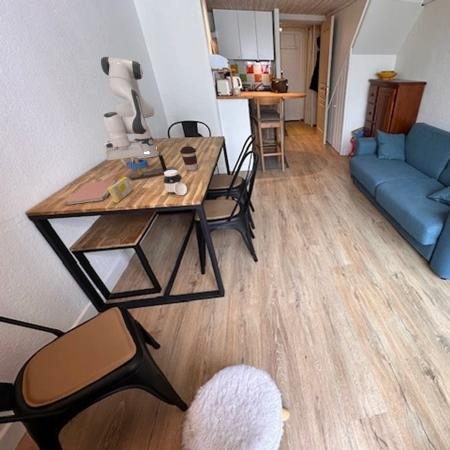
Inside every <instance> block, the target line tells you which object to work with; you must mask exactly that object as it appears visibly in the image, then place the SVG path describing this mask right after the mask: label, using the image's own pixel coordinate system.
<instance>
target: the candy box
mask: <svg viewBox="0 0 450 450" xmlns="http://www.w3.org/2000/svg"><path fill="white" fill-rule="evenodd" d="M108 190H109V192H110V193H109V194H110V196H111V199H112V201H113V202H114V204H119V203H120V202H121V201H122V200H123V199H124V198H125V197H127V196H128V195H129V194H131V193H132V192H133V191H134V189H133V187H132V184H131V182H130V180H129V178H128V176H124V177H122V178H120V179H119V180H118V181H117V183H115V184H114V185H112V186H111V187H109V188H108Z"/></svg>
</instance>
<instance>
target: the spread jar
mask: <svg viewBox="0 0 450 450" xmlns="http://www.w3.org/2000/svg"><path fill="white" fill-rule="evenodd" d="M163 176H164V177H163V186H164V188H165V191H166V192H167V193H168V194H171V195H177V196H184V195H185V194H187V192H188V187H187V186H186V184H185V183H184V179H183V176H182V175H181V174H179V171H178V170H177V169H175V170H168V171H165V172H164V175H163Z"/></svg>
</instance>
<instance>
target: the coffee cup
mask: <svg viewBox="0 0 450 450" xmlns="http://www.w3.org/2000/svg"><path fill="white" fill-rule="evenodd" d="M179 153H180V154H181V157H182V160H183V163H184V166H185V168H186V170H187V171H190V172H191V171H196V170H198V167H199V166H198V159H197V154H196V153H197V149H196V148H195V147H193V146H191V145H187V146H183V147H181V149H180V150H179Z"/></svg>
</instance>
